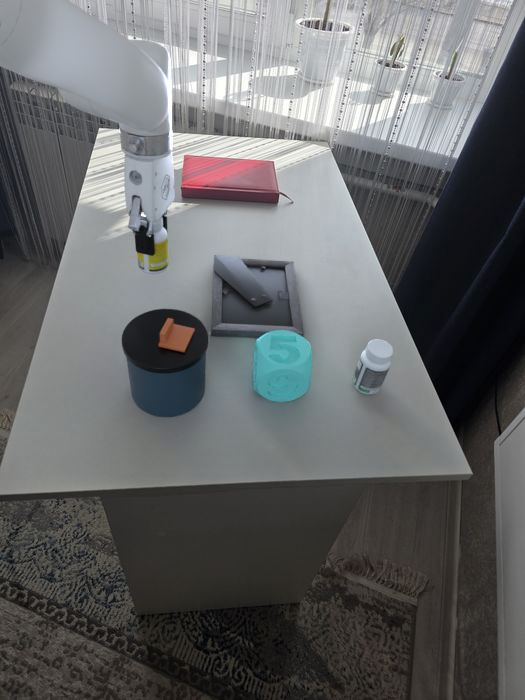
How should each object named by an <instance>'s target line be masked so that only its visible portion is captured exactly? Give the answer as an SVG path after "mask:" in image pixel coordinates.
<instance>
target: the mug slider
mask: <svg viewBox="0 0 525 700" xmlns="http://www.w3.org/2000/svg"><path fill="white" fill-rule="evenodd" d="M194 331H195V329H194V328H189V327H185V326H180V325H176V324H173V319H170V318H168V319H167V321H166V322H165V324H164V326H163V328H162V330H161V332H160V342H159V344H158V346H159V347H163V348H167V349H171V350H176V351H180V352H185V350H186V348H187V346H188V344H189V342H190V340H191V337H192V335H193V333H194Z"/></svg>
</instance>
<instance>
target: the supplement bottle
mask: <svg viewBox="0 0 525 700" xmlns="http://www.w3.org/2000/svg"><path fill="white" fill-rule="evenodd" d="M141 215H145V214H144V213H141ZM140 224H141V225H144V226H145V227H147V221H144V220H140ZM167 231H168V230H167ZM167 231H166V229H165V228H164V227H163V218H162V216H161V218H160V219H159V220H158V221H156V222H152V234H154V244H155V254H154V255H153V256H150V255H146V254H141V253H138V252H136V254H137V255H136V256H137V265H138V269H139V270H140V271H141V272H143V273H145V274H148V275H159V274H162V273H164V272H166V271H167V269H168V268H169V240H168V236H169V235H167Z"/></svg>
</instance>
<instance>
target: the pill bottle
mask: <svg viewBox="0 0 525 700" xmlns="http://www.w3.org/2000/svg"><path fill="white" fill-rule="evenodd" d="M394 351H395V350H394V348H393V346H392V345H391V344H390V343H389V342H388V341H386V340H384V339H381V338H374V339H371V340H369V342H368V343H367V345H366V347H365V349H364V350H363V351H362V352H361V355H360V357H359V360H358V363H357V364H356V367H355V371H354V373H353V375H352V380H351V382H352V385H353V387H354V388H355V390H357V391H358V392H359V393H361V394H364V395H374V394H377V393H379V392H380V390H381V389H382V386H383V384H384V382H385V379H386V378H387V374H388V372H389V370H390V368H391V366H392V358H393V355H394V353H395V352H394Z"/></svg>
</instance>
